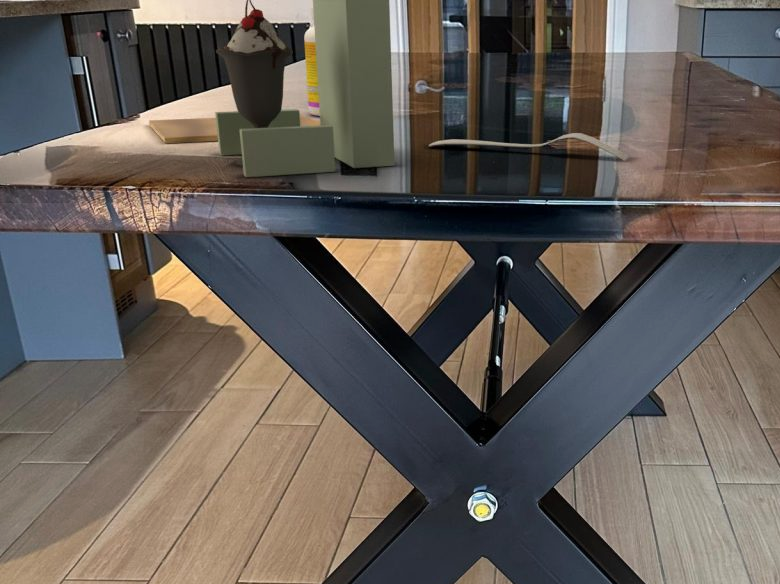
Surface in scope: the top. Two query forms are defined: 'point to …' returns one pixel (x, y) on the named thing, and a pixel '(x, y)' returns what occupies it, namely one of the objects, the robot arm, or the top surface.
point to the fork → (572, 135)
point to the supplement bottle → (311, 69)
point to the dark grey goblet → (256, 69)
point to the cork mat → (197, 129)
